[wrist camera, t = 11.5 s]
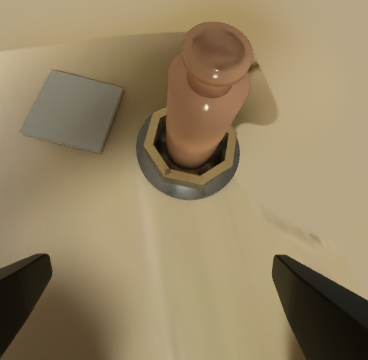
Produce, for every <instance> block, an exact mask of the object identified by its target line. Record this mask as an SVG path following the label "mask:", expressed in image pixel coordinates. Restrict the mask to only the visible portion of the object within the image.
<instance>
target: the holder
mask: <svg viewBox="0 0 368 360" xmlns="http://www.w3.org/2000/svg"><path fill="white" fill-rule="evenodd" d="M166 116H167V106H166V107H164V108H162V109H160V110H158V111H156V112H154V113H153V114H152V115H151V116H150V117H149V118H148V119H147V121H146V122H145V123H144V125H143V127H142V128H141V130H140V133H139V135H138V140H137V148H136V149H137V157H138V162H139V165H140V167H141V170H142V172H143V174H144V175H145V177H146V178H147V180H148V181H149V182H150V183H151V184H152V185H153V186H154V187H155V188H157V189H158V190H159V191H161V192H163V193H164V194H166V195H169V196H171V197H174V198H178V199H184V200H196V199H202V198H206V197H208V196H211V195H213V194H215V193H217V192H218V191H220V190H221V189H222V188H223V187H225V186H226V185H227V184H228V183H229V181H230V180H231V179H232V177H233V176H234V174H235V172H236V170H237V167H238V163H239V155H240V153H239V152H240V151H239V144H238V140H237V132H236V131H235V130H234V128H233V127H232V126H231V125H230V127H229V128H228V130H227V132H226V133H225V135H224V137H223V138H222V140H221V142H220V143H219V145H218V146H217V148H216V150H215V151H214V153H213V155H212V156H211V158H210V160H209V161H208V163H207V164H206V165H205V166H203V167H202V168H200V169H197V170H191V171H189V170H183V169H180V168H178V167H176V166H175V165H173V164H172V163H171V162H170V160H169V159H168V157H167V155H166V150H165V142H166Z"/></svg>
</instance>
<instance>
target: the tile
mask: <svg viewBox="0 0 368 360" xmlns="http://www.w3.org/2000/svg"><path fill="white" fill-rule="evenodd" d="M123 92H124V90H123V88H122V87H118V86H114V85H110V84H106V83H102V82H99V81H95V80H91V79H87V78H83V77H79V76H75V75H71V74H67V73H63V72H59V71H55V70H51V72H50V74H49V76H48V78H47V80H46V82H45V83H44V85H43V87H42V89H41V91H40V93H39V95H38V97H37V99H36V101H35V103H34V105H33V107H32V109H31V111H30V113H29V115H28V117H27V119H26V121H25V123H24V125H23V127H22V129H21V131H20V133H21V134H22V135H24V136H28V137H32V138H36V139H41V140H45V141H49V142H53V143H57V144H61V145H65V146H70V147H74V148H78V149H82V150H86V151H90V152H94V153H99V154H101V152H102V150H103V147H104V144H105V141H106V139H107V136H108V133H109V130H110V128H111V125H112V122H113V120H114V117H115V114H116V111H117V109H118V106H119V103H120V100H121V98H122V95H123Z"/></svg>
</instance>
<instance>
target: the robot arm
mask: <svg viewBox="0 0 368 360" xmlns="http://www.w3.org/2000/svg"><path fill="white" fill-rule="evenodd" d="M51 277H52V266H51V261H50V256H49V255H48V254H35V255H32V256H30V257H28V258H25V259H23V260H20V261H18V262H15V263H13V264H11V265H8V266H6V267H3V268H1V269H0V358H1V357H2V355H3V354H4V352H5V351H6V349H7V348H8V346H9V345H10V343H11V342H12V341H13V339H14V338H15V336H16V335H17V333H18V332H19V330H20V329H21V327H22V326H23V325H24V323H25V322H26V320H27V318H28V317H29V315H30V314H31V312H32V310H33V309H34V307H35V305H36V303H37V302H38V300H39V298H40V296H41V295H42V293H43V291H44V289H45V288H46V286H47V284H48V282H49V281H50V279H51ZM272 278H273V281H274V284H275V287H276V290H277V292H278V295H279V298H280V301H281V304H282V306H283V309H284V312H285V315H286V317H287V320H288V322H289V324H290V326H291V328H292V331H293V333H294V335H295V337H296V339H297V341H298V343H299V345H300V347H301V350H302V352H303V354H304V356H305V358H306V360H368V300H366V299H364V298H362V297H361V296H359V295H357V294H355V293H354V292H352V291H350V290H348V289H346V288H345V287H343V286H341V285H339V284H337V283H336V282H334V281H332V280H330V279H328V278H327V277H325V276H323V275H321V274H319V273H318V272H316V271H314V270H312V269H310V268H309V267H307V266H305V265H303V264H301V263H300V262H298V261H296V260H294V259H292V258H291V257H289V256H287V255H275V256H274V259H273V268H272Z"/></svg>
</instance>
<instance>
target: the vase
mask: <svg viewBox="0 0 368 360" xmlns="http://www.w3.org/2000/svg"><path fill="white" fill-rule="evenodd" d="M252 59H253V50H252V46H251V44H250V42H249V40H248V39H247V38H246V36H245V35H244V34H243V33H242V32H240V31H239V30H238V29H236V28H234V27H233V26H230V25H228V24H225V23H220V22H206V23H201V24H199V25H196V26H195V27H193V28H192V29H191V30H190V31H189V32H188V33H187V34H186V36H185V39H184V43H183V51H182V52H180V53H179V54H178V55H177V56H176V57H175V58H174V59H173V60H172V62H171V64H170V67H169V71H168V89H167V116H166V142H165V150H166V155H167V157H168V159H169V160H170V162H171V163H172V164H173V165H175V166H176V167H178V168H180V169H183V170H189V171H191V170H197V169H200V168H202V167H203V166H205V165H206V164H207V163H208V161H209V160H210V158H211V156H212V155H213V153H214V151H215V150H216V148H217V146H218V145H219V143H220V142H221V140H222V138H223V137H224V135H225V133H226V132H227V130H228V128H229V127H230V125H231V123H232V122H233V120H234V118H235V117H236V115H237V113H238V112H239V110H240V108H241V107H242V105H243V103H244V102H245V100H246V98H247V97H248V94H249V91H250V78H249V74H248V72H247V71H248V69H249V67H250V65H251V63H252Z"/></svg>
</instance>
